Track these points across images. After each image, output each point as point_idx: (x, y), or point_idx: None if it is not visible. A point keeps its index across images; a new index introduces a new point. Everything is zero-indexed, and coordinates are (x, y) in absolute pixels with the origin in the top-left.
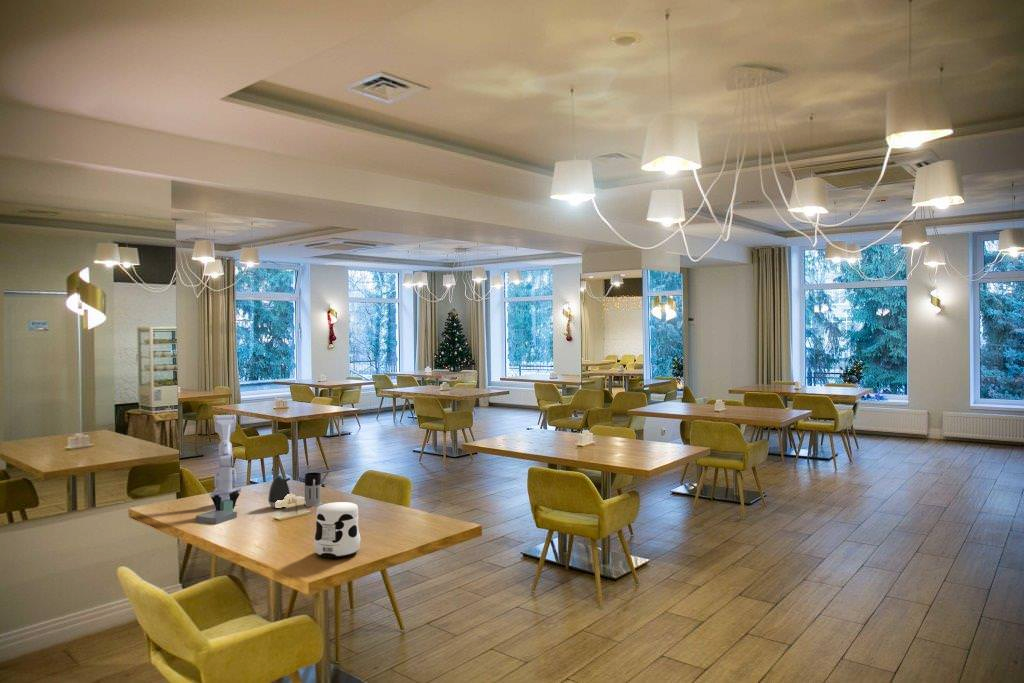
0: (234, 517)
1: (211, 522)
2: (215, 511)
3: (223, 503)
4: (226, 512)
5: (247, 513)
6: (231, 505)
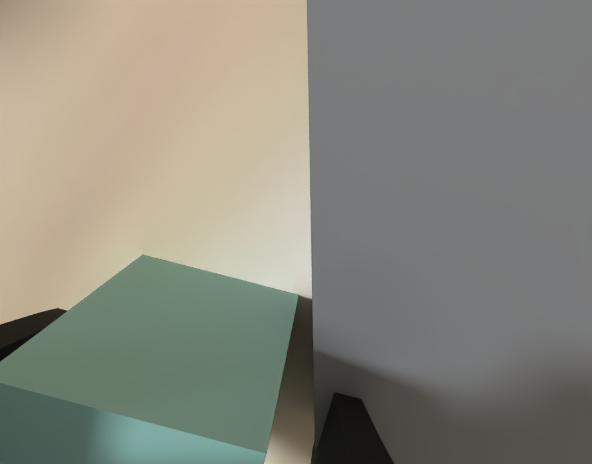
0: None
1: None
2: (447, 403)
3: (265, 449)
4: (436, 133)
5: (15, 11)
6: (96, 325)
